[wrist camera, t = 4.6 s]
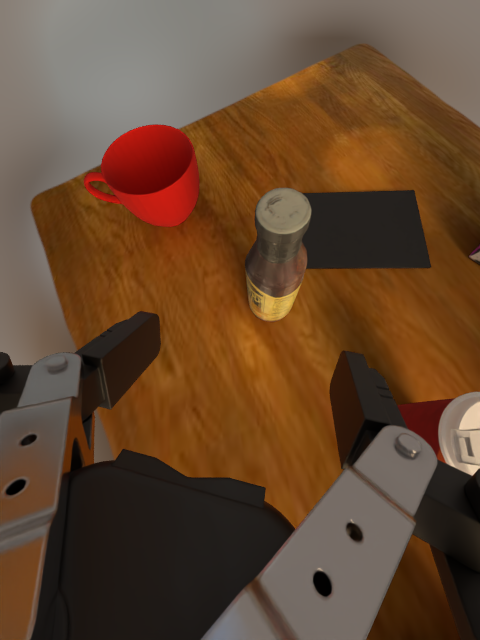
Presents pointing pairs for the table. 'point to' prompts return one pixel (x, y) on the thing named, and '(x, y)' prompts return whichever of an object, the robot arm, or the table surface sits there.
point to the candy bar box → (476, 255)
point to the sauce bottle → (277, 253)
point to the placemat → (365, 231)
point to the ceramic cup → (150, 174)
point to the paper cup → (449, 429)
